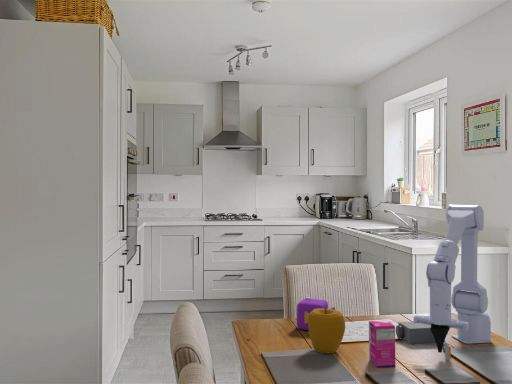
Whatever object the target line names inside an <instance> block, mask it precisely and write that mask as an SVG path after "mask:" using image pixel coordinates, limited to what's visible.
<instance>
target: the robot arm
mask: <svg viewBox="0 0 512 384" xmlns="http://www.w3.org/2000/svg"><path fill="white" fill-rule="evenodd" d="M484 215H485V214H484V209H483V206H481V205H480V204H474V205H473V204H453V203H450V204H449V205H448V206H447V208H446V210H445V217H446V222H447V224H448V226H447V229H446V235H445V238H444V240H443V241H441V242H440V243H439V244H438V247H437V250H436V252H435V255H434V257H433V260H432V261H431V262H428V263H427V266H426V272H425V274H426V278H427V285H428V287H429V315H418V314H417V315H416V314H415V315H414V316H413V321H414V323H421V324H428V325H431V328H430V330H431V332H432V334H433V336H434V338H435V341H436V348H437V353H440V354H441V353H442V352H443V350H444V349H443V348H444V345H445V343H444V341H445V338H446V336H447V333H448V334H449V331H450V329H451V328H452V329H456V330H457V332H456V333H457V334H451V338H454V339H456V340H457V341H459V342H461V343H464V344H466V345H467V344H482V343H483V344H485V343H486V344H487V343H493V340H492V335H491V334H492V327H491V326H492V324H491V323H492V322H491V318H490V315H489V314H488V313H487V310H488V305H489V298H488V292H487V289H486V287H484V286H483V285H482V284H480V283H479V282H478V241H479V240H478V235H479V232H481V231H483V230H484V226H485V225H484V223H485V221H484V219H485V217H484ZM460 239H461V240H460ZM459 242H461V243H460V244H461V245H460V247H459V245H458V244H459ZM460 251H461V252H460ZM459 252H460V254H461V255H460V260H461V262H460V282H458V283H456V284H455V285H454V286H453V287H452V283H453V282H454V279H455V275H456V262H457V258H458V256H459ZM452 307H453V308H454V310H455V312H456V313H457V314H456V315H457V317H456V318H457V319H454V318H452Z"/></svg>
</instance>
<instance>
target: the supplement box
mask: <svg viewBox="0 0 512 384" xmlns="http://www.w3.org/2000/svg"><path fill="white" fill-rule="evenodd" d="M368 360H369V362H370V363H371V364H372V365H373V367H374V368H375V369H379V368H380V369H382V368H383V369H385V368H386V369H387V368H396V365H397V364H396V325H394V324H393V323H392V322H391V321H389V320H388V319H386V320H385V319H382V320H368Z"/></svg>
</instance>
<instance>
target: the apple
mask: <svg viewBox="0 0 512 384" xmlns="http://www.w3.org/2000/svg"><path fill="white" fill-rule="evenodd" d="M308 327H309V330H308V334H309V339H310V342H311V344H312V346H313V349H314V351H315V352H318V353H320V354H324V353H326V354H327V355H329V354H330V353H331V354H334V353H335V352H337V351H338V350H339V349H340V347H341V346H340V345H341V344H342V341H343V338H344V335H345V331H346V321H345V317H344V315H343V313H342V312H341V311H339V310H337V309H335V310H333V309H331V308H328V309H326V308H324V309H323V308H317V309H314V310H313V311H312V312H310V314H309V316H308ZM331 354H330V355H331Z"/></svg>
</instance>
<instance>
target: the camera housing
mask: <svg viewBox="0 0 512 384" xmlns="http://www.w3.org/2000/svg"><path fill="white" fill-rule="evenodd" d="M397 323H398V324H397V325H395V336H396V338H398V339H400V338H401V339H400V340H402V341H403V342H405V343H406V344H408V345H409V346H410V345H413V346H414V345H415V346H416V345H433V344H436V341H435V338H434V336H433V334H432V332H431V330H430V328H431V325H428V324H421V323H414V320H413V321H412V320H411V321H398V322H397ZM436 345H437V344H436Z"/></svg>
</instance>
